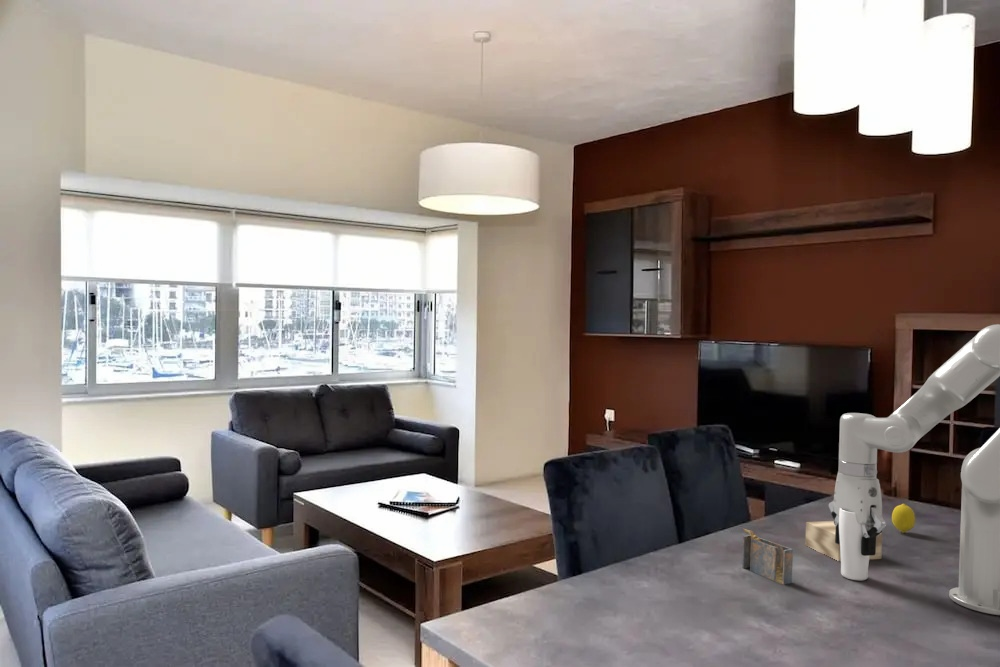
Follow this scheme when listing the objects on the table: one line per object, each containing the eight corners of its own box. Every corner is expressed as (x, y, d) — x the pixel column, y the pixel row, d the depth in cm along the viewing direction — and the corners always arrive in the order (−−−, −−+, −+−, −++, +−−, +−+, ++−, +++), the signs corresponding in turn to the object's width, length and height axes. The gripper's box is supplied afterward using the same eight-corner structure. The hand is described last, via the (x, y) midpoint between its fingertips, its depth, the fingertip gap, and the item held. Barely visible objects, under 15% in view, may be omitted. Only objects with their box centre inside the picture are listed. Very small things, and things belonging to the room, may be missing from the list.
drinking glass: (875, 584, 151) (877, 514, 151) (841, 581, 153) (843, 512, 153) (865, 573, 158) (867, 507, 158) (833, 570, 159) (835, 504, 159)
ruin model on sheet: (740, 570, 160) (742, 527, 160) (750, 568, 161) (751, 526, 161) (782, 586, 150) (783, 541, 150) (791, 584, 151) (793, 539, 151)
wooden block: (881, 558, 169) (882, 533, 169) (838, 561, 166) (839, 536, 166) (846, 543, 180) (846, 520, 180) (805, 545, 178) (805, 522, 178)
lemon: (886, 531, 193) (887, 502, 193) (900, 529, 195) (901, 500, 195) (905, 536, 188) (906, 507, 188) (919, 534, 190) (920, 505, 190)
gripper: (902, 477, 148) (899, 561, 148) (844, 461, 165) (841, 536, 165) (872, 478, 146) (869, 563, 146) (816, 462, 163) (814, 538, 163)
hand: (854, 548), depth 155 cm, fingers open, 7 cm apart
